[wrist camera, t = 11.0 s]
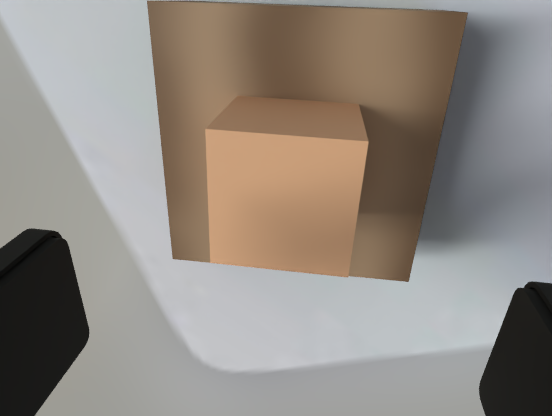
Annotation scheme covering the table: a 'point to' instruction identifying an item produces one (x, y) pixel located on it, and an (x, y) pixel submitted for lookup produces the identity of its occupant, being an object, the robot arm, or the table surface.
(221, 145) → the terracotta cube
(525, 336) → the robot arm
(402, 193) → the walnut base
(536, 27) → the table surface
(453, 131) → the table surface
